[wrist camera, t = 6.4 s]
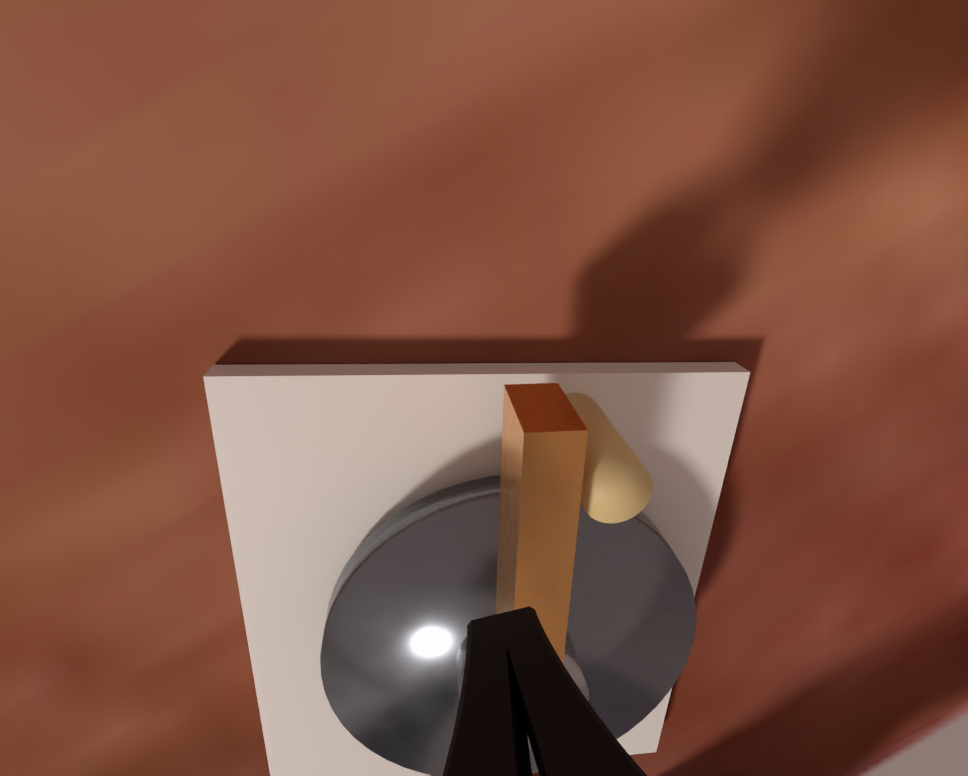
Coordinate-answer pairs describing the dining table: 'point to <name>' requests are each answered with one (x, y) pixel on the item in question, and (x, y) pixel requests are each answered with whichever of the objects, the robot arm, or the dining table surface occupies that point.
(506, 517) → the dial
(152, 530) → the dining table surface
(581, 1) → the dining table surface
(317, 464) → the base board
